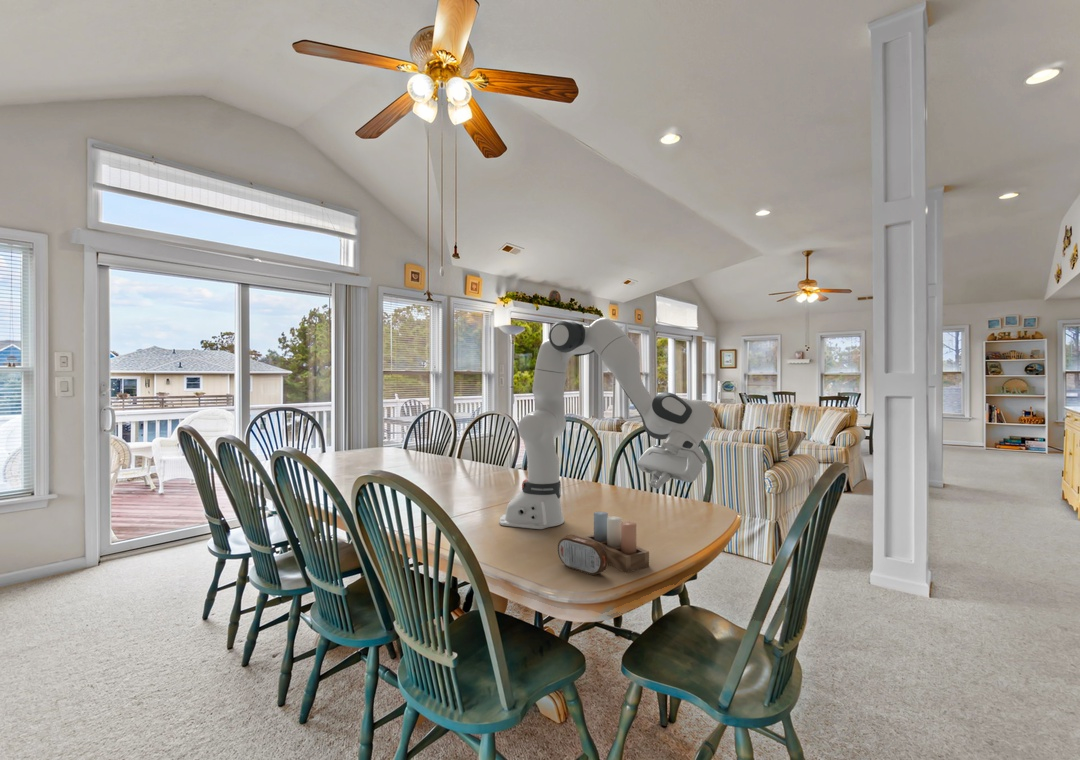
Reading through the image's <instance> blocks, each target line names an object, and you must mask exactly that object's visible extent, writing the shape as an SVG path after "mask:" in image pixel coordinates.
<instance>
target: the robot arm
mask: <svg viewBox="0 0 1080 760" xmlns="http://www.w3.org/2000/svg"><path fill="white" fill-rule="evenodd" d="M592 353H596V354H597V355H598V357H599V359H600V360H601V361H602V362H603V363H604V365H605V366H606V367H607V368H608V369H609V371H610V372H611V373H612V375H613V376H614V378H615V379H616V381H617V382H618V384H619V386H620V387H621V389H622V390H623V392H624V394H625V395H626V397H627V398H628V399H629V401H630V402H631V404H632V405H633V407H634V408H635V409H636V412H637V413H638V414H639V416H640V418H641V421H642V425H643V429H644V430H645V433H646V434H647V435H649V436H650V438H651V437H652V438H653V439H656V440H660V441H661V440H663V443H661V445H659V444H654V445H652V446H650V447H648V448H647V449H646V450H645V451H644V452H643V453H642V454H641V456H640V457H639V458H638V459H637V461H636V466H637V467H638V469H639V470H640V471H641V472H643V473H646V474H650V475H651V478H650V480H649V482H648V485H649V487H650V488H653V489H654V488H655V489H657V490H659V489H661V487H662V486H663V485H664V484H666V483H667V482H669V481H670V480H671V479H673V480H678V481H680V482H685V483H693V482H695V481H696V480H697V478H698V477H699V475H700V474H701V472H702V470H703V467H704V465H705V463H706V462H707V461H708V458H707V456H706V455H705V454H704V452H703V451H702V449H701V448H700V447H699V446H700V443H701V441H703V440H704V439H705V438H706V436H707V434H708V433H709V431H710V429H711V428H712V425H713V423H714V420H715V412H714V410H713V409H712V407H711V406H710V405H709V404H708V403H707V402H705V401H703V400H701V399H688V398H687V399H686V398H684V397H680V396H678V395H676V394H674V393H673V392H672V393H671V392H661V393H659V394H657V395H656V396H654V398H653V396H652V395H651V393H650V392H649V391H648V389H647V388H646V386H645V385H644V383H643V380H642V378H641V370H640V369H641V368H640V367H641V366H640V365H641V358H640V353H639V351H638V348H637V347H636V345H635V342H633V341H632V339H631V338H630V337H629V336H628V335H627V334H626V332H625V331H624V330H623V329H622V328H621V327H620V326H619V325H617V324H616V323H615V322H614V321H612V320H611V319H610V318H608V317H601V318H598V319H596V320H594V321H593V322H592V323H586V322H583V321H581V320H572V319H562V320H561V319H560V320H559V321H557V322H555V323H553V324H552V325H551V327H550V329H549V332H548V338H547V339H545V340H543V341H542V342H541V344H540V346H539V349H538V353H537V356H536V357H537V358H536V362H535V366H534V374H533V382H532V394H533V397H534V406H535V409H534V411H530V412H528V413H526V414H525V415H524V416H523V417H522V418H521V419H520V421H519V422H518V425H517V426H518V427H517V431H518V434H519V437H520V438H521V439H522V441H523V444H524V449H525V453H526V461H527V479H523V481H522V483H521V488H522V489H521V492H520V493H518V494H517V495H516V496H515V497H513V498H512V499H511V500H510V501H509V502H508V504H507V507H506V510H505V513H504V514H502V515H501V516H500V518H499V525H501V526H503V527H504V526H506V527H515V528H523V529H532V530H535V529H536V530H545V529H546V528H551V527H552V528H553V527H556V526H557V527H558V526H560V525H562V524H563V523H565V519H564V515H563V511H562V510H563V509H562V503H561V496H562V483H561V480H560V457H559V455H558V453H557V451H556V447H555V439H557V438H558V437H560V436H561V435H562V434H563V433H564V432H565V429H566V428H567V419H566V417H565V404H564V403H565V401H564V400H565V396H564V395H565V388H566V381H567V373H568V372H567V371H568V365H569V360H570V359H571V357H581V356H586V355H590V354H592Z"/></svg>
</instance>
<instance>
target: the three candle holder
mask: <svg viewBox="0 0 1080 760" xmlns="http://www.w3.org/2000/svg"><path fill="white" fill-rule="evenodd" d="M581 537H582V536H581ZM582 538H586V539H589V540H593V541H595V540H594V534H592V535H587V536H583V537H582ZM596 542H598V541H596ZM598 543H599V544H601V545H602V546H603V548H604V549H605V551H606V553H607V556H608V565H609V564H610V566H611V565H612V566H611V567H613V566H614V567H613V568H615V567H616V569H617V568H618V570H619V569H620V570H619V571H621V570H622V571H621V572H623V571H624V573H625V572H626V574H627V573H630V572H634V571H638V570H642V569H645V568H649V567H650V552H649V551H648V550H646V549H644V548H642V547H639V546H637V545H636V553H635V554H631V555H627V554H624V553H622V552H621V547H617V548H611V547H609V546H607V541H603V542H598Z"/></svg>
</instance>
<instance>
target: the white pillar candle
mask: <svg viewBox="0 0 1080 760" xmlns="http://www.w3.org/2000/svg"><path fill="white" fill-rule="evenodd" d="M622 519H623V518H622V517H620V516H615V515H614V516H613V515H612V516H608V517H607V546H609V547H611V548H617V547H621V523H622V521H623V520H622Z"/></svg>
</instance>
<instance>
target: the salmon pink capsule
mask: <svg viewBox="0 0 1080 760" xmlns="http://www.w3.org/2000/svg"><path fill="white" fill-rule="evenodd" d="M636 546H637V523H636V522H634V521H623V522H622V523H621V552H622V553H624V554H627V555H631V554H635V553H636Z"/></svg>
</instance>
